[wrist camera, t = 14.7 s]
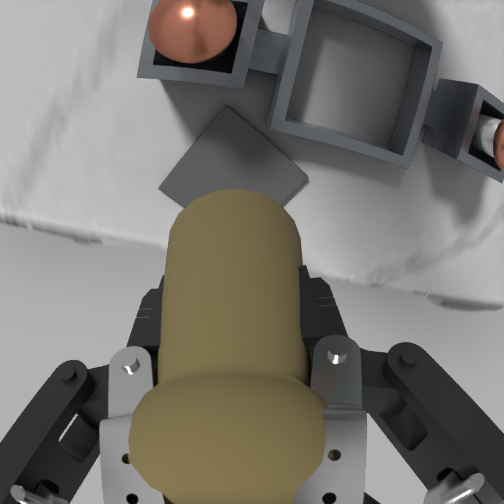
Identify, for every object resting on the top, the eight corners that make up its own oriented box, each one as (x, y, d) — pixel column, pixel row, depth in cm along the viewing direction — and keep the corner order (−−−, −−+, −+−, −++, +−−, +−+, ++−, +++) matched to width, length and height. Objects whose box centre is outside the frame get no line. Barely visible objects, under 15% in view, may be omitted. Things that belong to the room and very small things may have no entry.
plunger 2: (437, 120, 19) (495, 143, 13) (464, 93, 18) (523, 109, 12) (458, 156, 21) (511, 186, 15) (483, 129, 19) (538, 153, 13)
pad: (159, 186, 23) (158, 188, 22) (226, 105, 20) (226, 105, 19) (238, 244, 26) (238, 247, 25) (307, 175, 23) (308, 177, 22)
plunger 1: (164, 47, 16) (131, 33, 10) (204, 4, 15) (188, -28, 9) (209, 79, 18) (195, 78, 12) (249, 37, 16) (255, 16, 10)
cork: (308, 289, 15) (363, 515, 6) (192, 312, 16) (169, 530, 6) (289, 174, 12) (407, 468, 3) (148, 208, 13) (30, 471, 3)
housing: (153, 107, 19) (131, 116, 15) (182, -25, 14) (167, -49, 10) (459, 185, 23) (492, 208, 19) (489, 85, 18) (527, 94, 14)
